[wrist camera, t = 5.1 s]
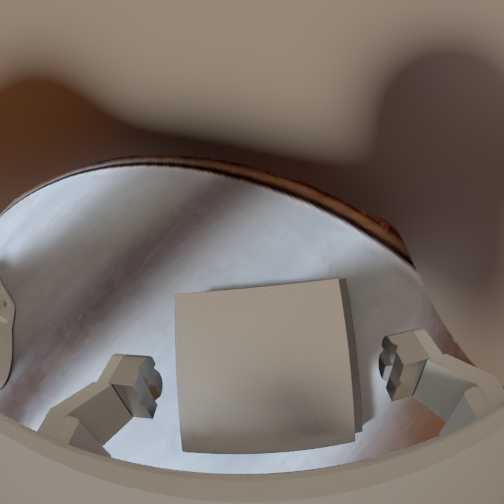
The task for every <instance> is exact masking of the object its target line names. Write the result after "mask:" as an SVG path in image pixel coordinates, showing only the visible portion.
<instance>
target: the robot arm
mask: <svg viewBox="0 0 504 504" xmlns="http://www.w3.org/2000/svg"><path fill="white" fill-rule="evenodd" d="M14 314H15V305H14V303H13V301H12V300H11V298H10V296H9V295H8V293H7V291H6V289H5V288H4V286H3V284H2V282H1V280H0V388H2V387H3V385H4V384H5V382H6V380H7V378H8V375H9V371H10V366H11V359H12V325H13V320H14ZM382 346H383V348H384V350H383V351H382V353H381V354H380V356H379V371H380V374H381V377H382V379H384V380H385V381H387V382H388V383H387V386H386V389H387V391H388V393H389V396H390V398H391V400H392V401H394V400H398V399H402V398H406V397H410V396H413V397H414V398H415V399H416V400H418V401H419V402H420V403H422V404H423V405H424V406H426V407H427V408H428V409H430V410H431V411H433V412H434V413H435V414H437V415H438V416H439V417H441V418H442V419H443V420H445V421H446V423H445V425H444V426H443V428H442V429H441V431H440V433H439V436H437V437H435V438H432V439H430V440H427V441H424V442H422V443H419V444H416V445H413V446H410V447H408V448H405V449H401V450H398V451H395V452H392V453H388V454H385V455H381V456H378V457H374V458H370V459H366V460H362V461H357V462H353V463H348V464H343V465H337V466H332V467H326V468H319V469H312V470H304V471H295V472H284V473H268V474H215V473H200V472H189V471H180V470H172V469H165V468H158V467H152V466H147V465H141V464H136V463H132V462H127V461H123V460H119V459H115V458H111V455H110V454H109V453H108V452H107V451H106V450H105V448H104V447H103V445H104V444H105V443H106V442H107V441H108V440H110V439H111V438H112V437H113V436H114V435H115V434H116V433H117V432H118V431H119V430H120V429H121V428H122V427H123V426H124V425H126V424H127V423H128V422H129V421H130V420H131V419H132V418H133V417H141V418H151V419H153V416H154V413H155V410H156V407H157V404H156V401H155V400H156V399H157V398H159V397H160V395H161V392H162V378H161V376H160V373H159V372H158V371H157V370H155V369H154V366H155V362H154V360H153V358H152V357H150V356H141V355H128V354H126V355H124V354H114V355H112V357H111V359H110V360H109V362H108V364H107V365H106V367H105V369H104V370H103V372H102V374H101V376H100V377H99V379H98V381H97V382H93V383H91V384H89V385H88V386H86V387H85V388H83V389H82V390H80V391H78V392H77V393H75V394H74V395H72V396H70V397H69V398H67V399H66V400H64V401H62V402H61V403H59V404H58V405H56V406H54V407H53V408H51V409H50V410H49V412H48V414H47V415H46V417H45V419H44V421H43V422H42V424H41V426H40V428H39V429H38V431H34V430H32V429H30V428H28V427H26V426H24V425H22V424H20V423H18V422H16V421H14V420H12V419H10V418H8V417H6V416H5V415H3V414H1V413H0V504H504V389H503V387H502V386H501V384H500V383H499V382H498V380H497V379H496V377H495V376H493V375H491V374H489V373H487V372H485V371H482V370H480V369H478V368H476V367H474V366H472V365H469V364H467V363H465V362H463V361H461V360H459V359H456V358H454V357H452V356H450V355H448V354H444V355H443V354H442V353H441V351H440V350H439V349H438V347H437V346H436V344H435V343H434V342H433V340H432V339H431V337H430V336H429V335H428V333H427V332H426V331H425V329H423V328H417V329H413V330H410V331H406V332H401V333H397V334H393V335H388V336H385V337H384V339H383V342H382Z"/></svg>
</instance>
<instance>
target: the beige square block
mask: <svg viewBox="0 0 504 504" xmlns="http://www.w3.org/2000/svg"><path fill="white" fill-rule="evenodd" d="M175 345H176V374H177V393H178V408H179V420H180V431H181V441H182V451H183V452H194V453H211V454H260V453H277V452H289V451H299V450H307V449H315V448H322V447H328V446H334V445H339V444H345V443H350V442H355V424H354V406H353V392H352V380H351V369H350V359H349V350H348V341H347V333H346V325H345V318H344V311H343V304H342V298H341V291H340V285H339V279H330V280H321V281H313V282H304V283H294V284H285V285H275V286H265V287H255V288H244V289H232V290H220V291H208V292H194V293H180V294H175Z"/></svg>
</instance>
